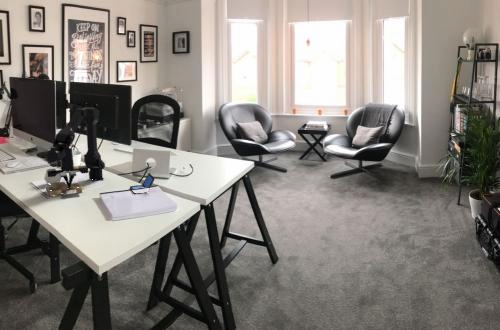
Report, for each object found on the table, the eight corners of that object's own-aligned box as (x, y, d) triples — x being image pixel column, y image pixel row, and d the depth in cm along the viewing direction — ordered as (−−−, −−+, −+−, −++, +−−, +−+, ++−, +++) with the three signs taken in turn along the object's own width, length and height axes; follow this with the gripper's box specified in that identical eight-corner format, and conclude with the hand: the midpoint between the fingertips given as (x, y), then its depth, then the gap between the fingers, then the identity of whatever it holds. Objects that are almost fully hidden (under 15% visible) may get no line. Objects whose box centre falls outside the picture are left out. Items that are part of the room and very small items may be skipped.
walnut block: (64, 190, 220) (64, 181, 218) (67, 193, 215) (66, 184, 214) (52, 191, 216) (51, 183, 215) (54, 195, 211) (53, 186, 210)
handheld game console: (129, 188, 225) (128, 174, 223) (150, 186, 230) (149, 172, 228) (133, 194, 214) (133, 180, 212) (155, 192, 218) (154, 178, 217)
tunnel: (78, 187, 225) (78, 181, 224) (82, 192, 216) (81, 186, 215) (46, 191, 218) (45, 185, 217) (47, 196, 208) (47, 190, 208)
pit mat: (77, 193, 215) (77, 192, 215) (79, 196, 210) (79, 195, 210) (60, 195, 211) (60, 194, 211) (61, 198, 206) (61, 198, 206)
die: (61, 182, 236) (49, 168, 234) (68, 177, 231) (55, 163, 229) (50, 190, 230) (37, 177, 228) (56, 185, 225) (43, 171, 223)
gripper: (83, 152, 225) (86, 181, 229) (44, 156, 216) (47, 186, 220) (87, 156, 216) (89, 186, 219) (46, 160, 207) (49, 191, 210)
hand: (69, 187), depth 217 cm, fingers closed
